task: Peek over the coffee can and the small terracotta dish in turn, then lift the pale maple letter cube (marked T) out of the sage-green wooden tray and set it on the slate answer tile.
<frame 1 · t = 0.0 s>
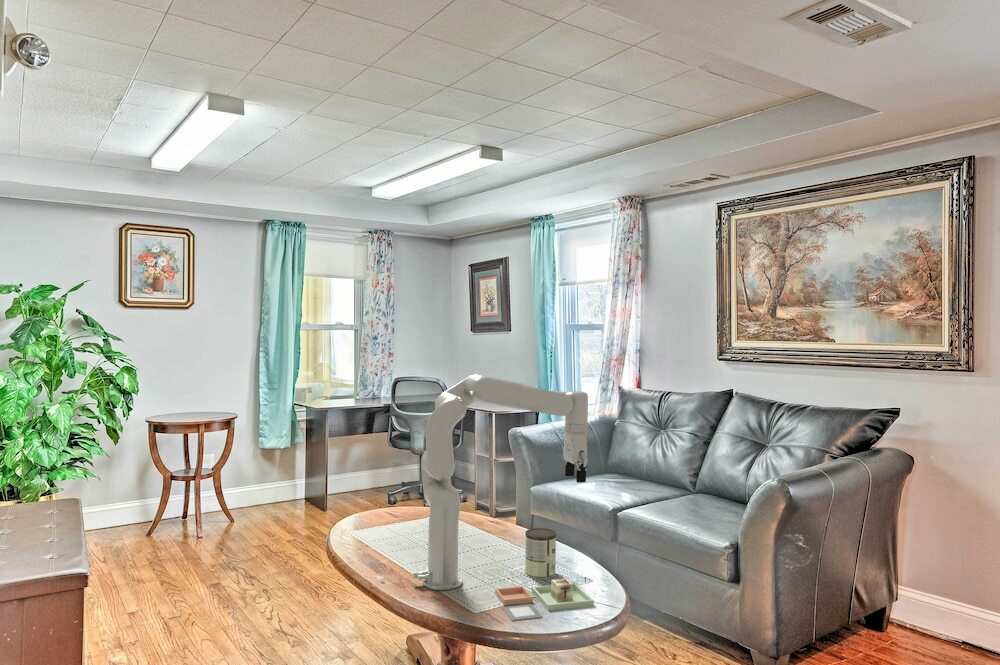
hand: (575, 479, 235), 31 cm above the table, tool pointing down, fingers open, 9 cm apart
letter cube: (561, 598, 210), resting on green tray
terracotta dish: (513, 599, 210), on the table
slate tile: (521, 614, 199), on the table
green tray: (561, 600, 210), on the table
coffee can: (540, 575, 232), on the table
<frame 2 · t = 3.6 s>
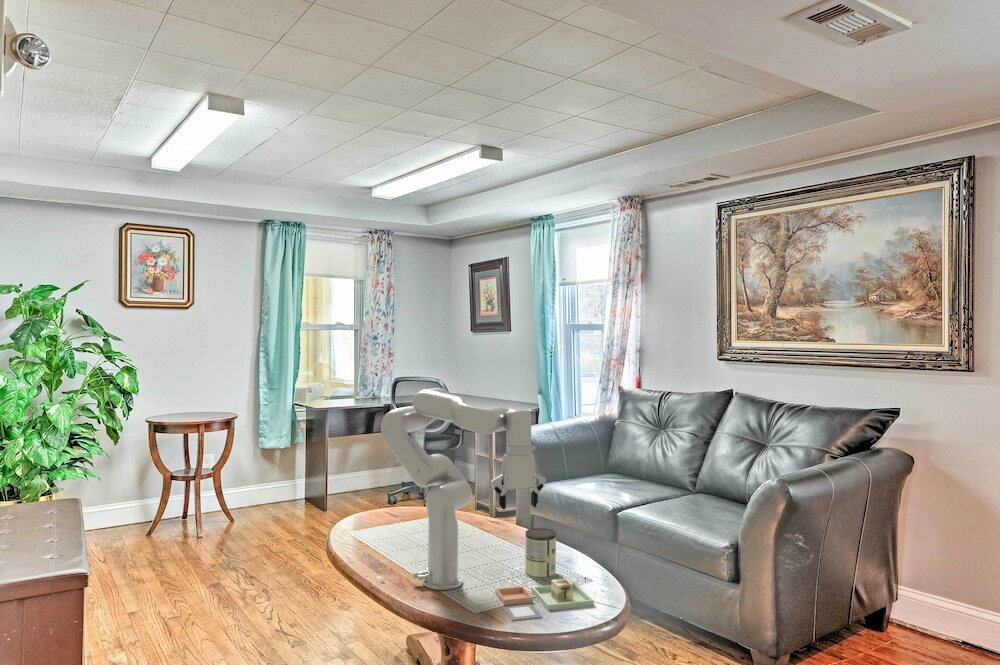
hand: (518, 507, 210), 28 cm above the table, tool pointing down, fingers open, 9 cm apart
nothing on the table moved.
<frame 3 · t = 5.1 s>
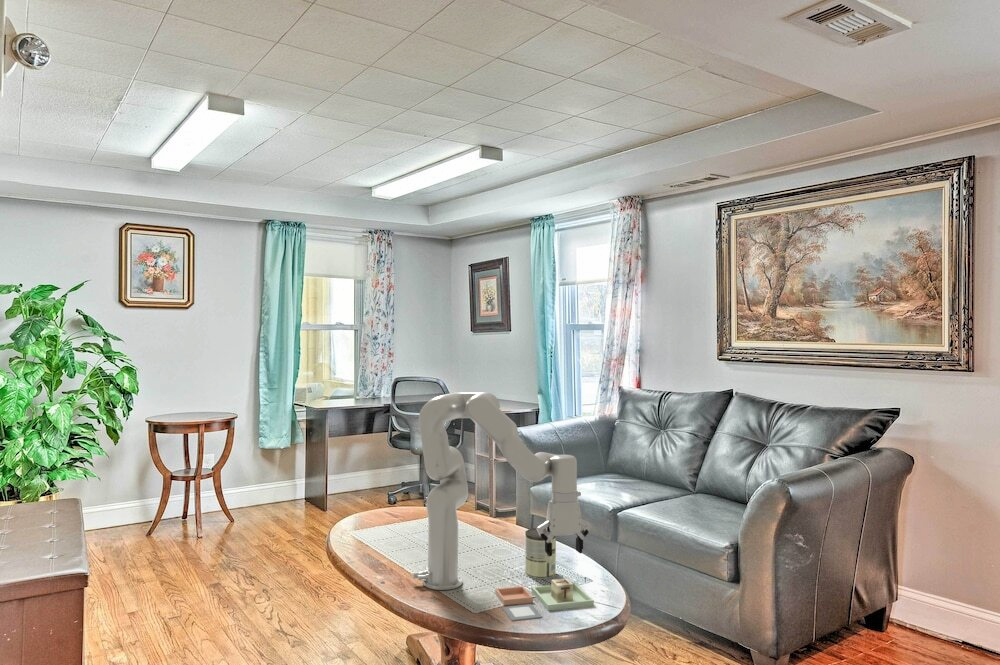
hand: (564, 553, 210), 14 cm above the table, tool pointing down, fingers open, 9 cm apart
nothing on the table moved.
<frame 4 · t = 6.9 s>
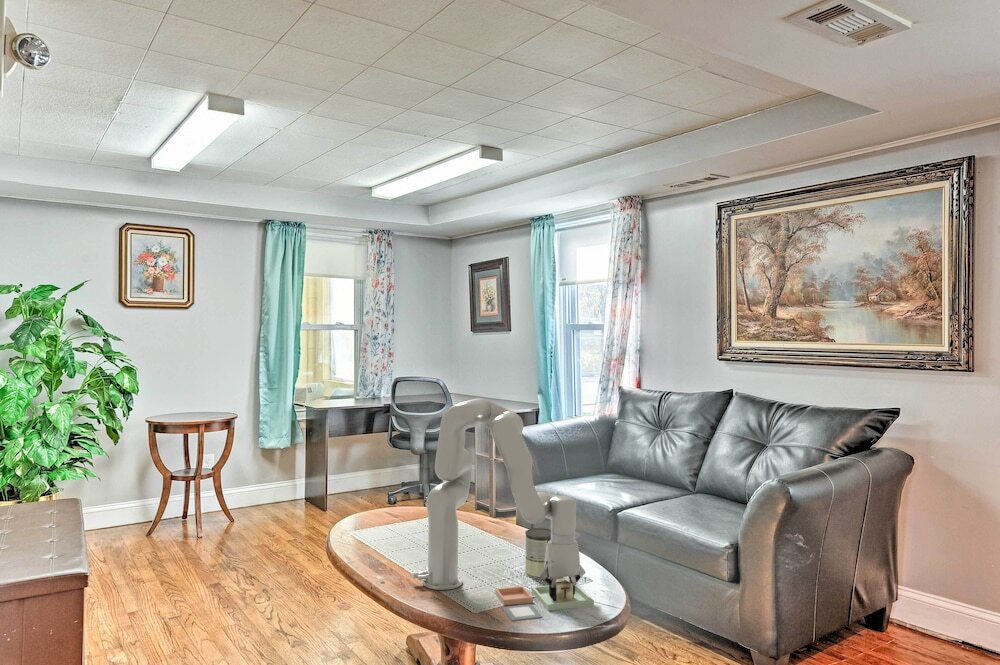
hand: (561, 597, 210), 1 cm above the table, tool pointing down, fingers closed on letter cube, 5 cm apart
letter cube: (561, 598, 210), point 1 cm above the table, touching green tray, gripper
everything else where it was.
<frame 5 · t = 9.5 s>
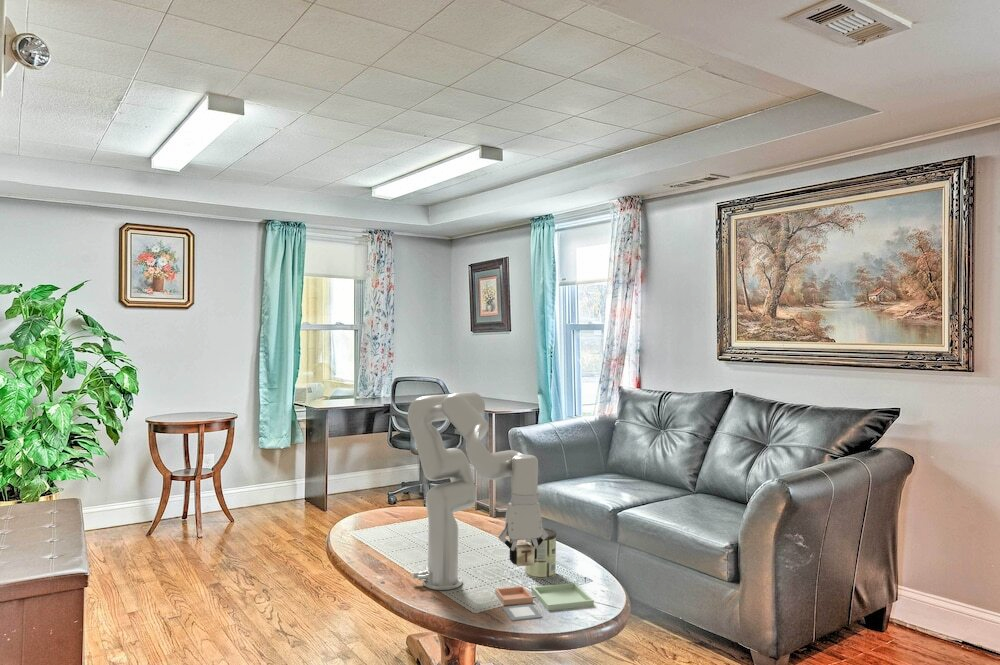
hand: (523, 561, 199), 15 cm above the table, tool pointing down, fingers closed on letter cube, 5 cm apart
letter cube: (523, 562, 199), point 15 cm above the table, touching gripper
everything else where it was.
when the fingers open (3 cm above the table, at t = 12.2 s): letter cube drops 1 cm, resting on slate tile.
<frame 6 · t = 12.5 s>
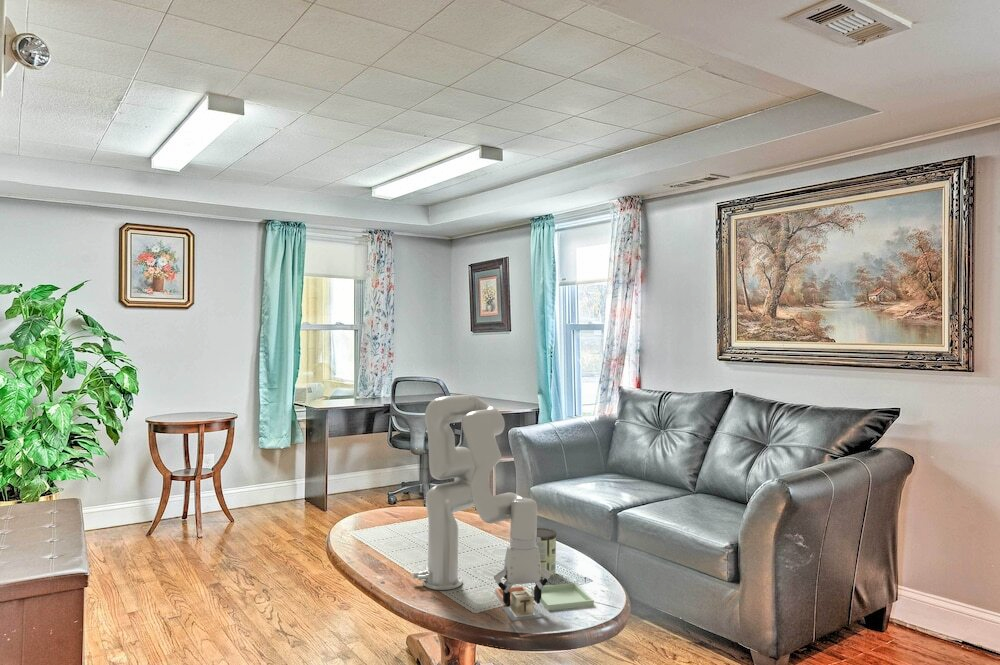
hand: (522, 603, 199), 3 cm above the table, tool pointing down, fingers open, 8 cm apart
letter cube: (521, 611, 199), point 1 cm above the table, touching slate tile
everything else where it was.
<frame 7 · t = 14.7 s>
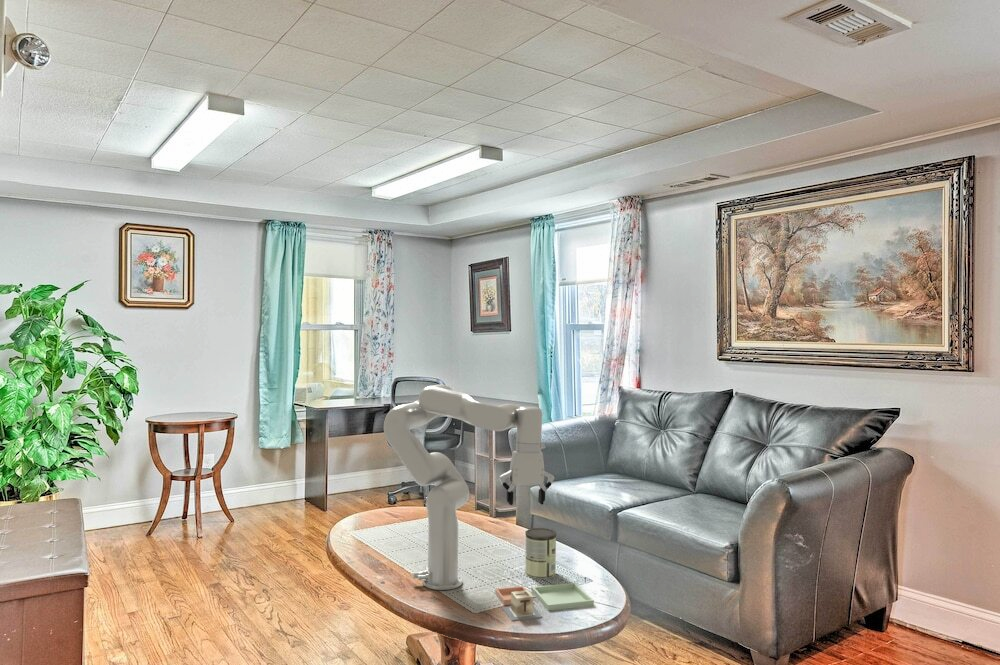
hand: (525, 503, 212), 28 cm above the table, tool pointing down, fingers open, 9 cm apart
nothing on the table moved.
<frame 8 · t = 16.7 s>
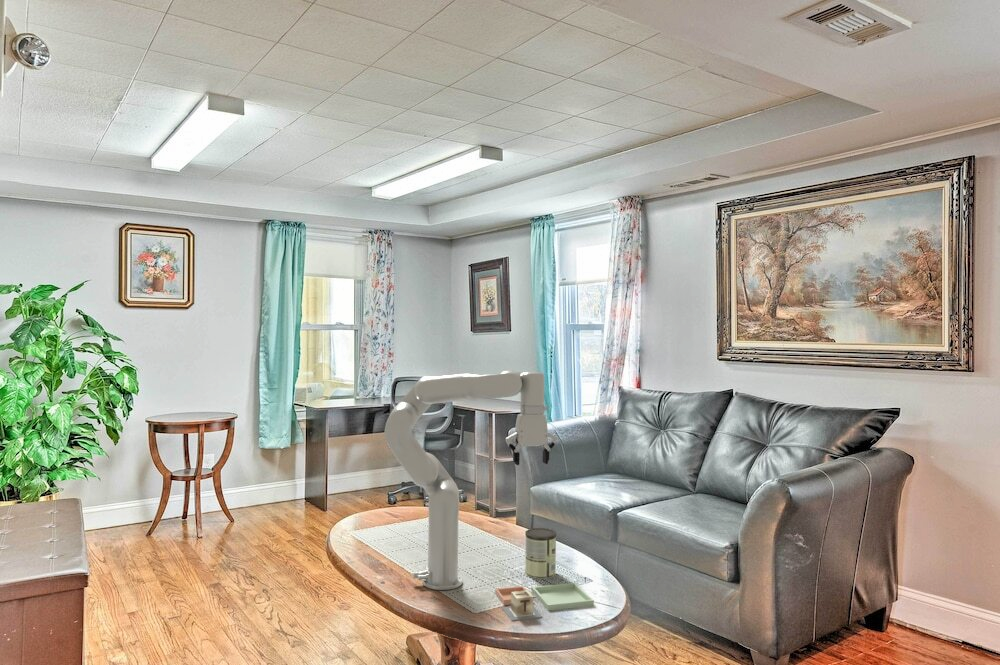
hand: (531, 463, 224), 38 cm above the table, tool pointing down, fingers open, 9 cm apart
nothing on the table moved.
at the end: letter cube inside the target area on the slate tile (0.0 cm from its centre), point 0.8 cm above the slate tile's base; letter cube tilted 0°; the gripper is holding nothing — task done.
